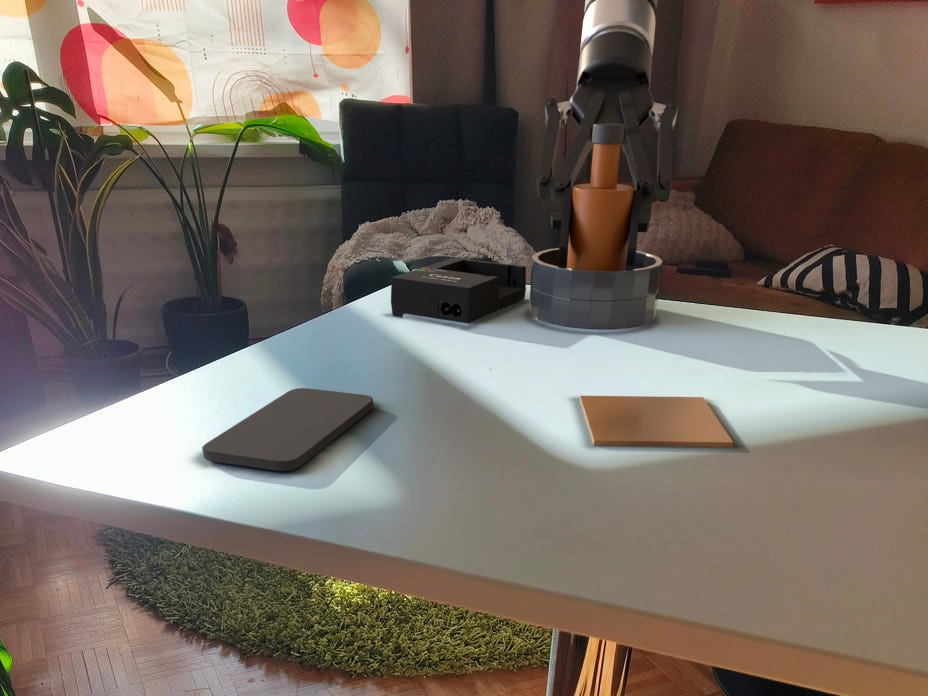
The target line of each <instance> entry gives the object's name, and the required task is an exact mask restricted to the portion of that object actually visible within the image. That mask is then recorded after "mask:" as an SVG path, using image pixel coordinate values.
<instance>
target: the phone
mask: <svg viewBox="0 0 928 696" xmlns="http://www.w3.org/2000/svg"><path fill="white" fill-rule="evenodd" d="M373 409H374V398H373V397H372V396H370V395H366V394H359V393H351V392H344V391H343V392H342V391H334V390H326V389H316V388H307V387H299V388H298V387H297V388H293V389H290V390H288V391H286V392H285V393H283V394H282V395H280V396H279V397H277V398H275V399H274V400H272V401H271V402H269V403H267V404H266V405H264V406H263V407H261V408H260V409H258V410H256V411H255V412H253V413H252V414H250V415H249V416H247V417H245V418H244V419H242V420H241V421H239V422H237V423H236V424H234V425H233V426H231V427H230V428H228V429H227V430H225V431H223V432H222V433H220V434H219V435H217V436H215V437H214V438H212V439H211V440H209V441H208V442H206V443H205V444H204V445H203V446H202V455H203V458H204V459H205V460H207V461H209V462H214V463H220V464H221V463H222V464H228V465H234V466H242V467H248V468H249V467H250V468H255V469H261V470H262V469H263V470H271V471H277V472H278V471H279V472H289V471H293V470H297V469H299V468H300V467H302V466H303V465H304V464H305V463H307V462H308V461H309V460H311V459H312V458H314V456H316V455H317V454H318V453H319V452H321V451H322V450H323V449H324V448H325V447H327V446H328V445H329V444H331V443H332V442H333V441H335V440H336V439H337V438H338V437H339V436H340V435H341V434H343V433H344V432H345V431H348V429H350V428H351V427H352V426H353V425H354V424H356V422H358V421H359V420H361V419H362V418H363V417H365V415H367V414H368V413H369V412H371V410H373Z"/></svg>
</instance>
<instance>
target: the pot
mask: <svg viewBox="0 0 928 696" xmlns="http://www.w3.org/2000/svg"><path fill="white" fill-rule="evenodd" d="M627 250H628V248H627ZM567 258H568V252H567ZM626 262H627V257H626ZM663 262H664V261H663V260H662V259H661V258H660V257H659V256H657V255H654V254H651V253H649V252H646V251H645V252H644V251H641V250H636V254H635V261H634V266H626V267H625V270H618V271H593V270H580V269H571V268H567V261H566V263H559V247H557V248H549V249H545V250H541V251H538V252H536V253H535V254H533V255H532V256H531V269H530V287H529V288H530V290H529V306H528V307H529V309H528V311H529V314H530V316H532V317H533V318H534V319H535V320H538V321H540V322H543V323H545V324H546V323H547V324H549V325H554V326H558V327H564V328H573V329H582V330H620V329H621V330H622V329H630V328H631V329H632V328H636V327H640V326H641V327H642V326H644V325H646V324H650V323H651V322H653V320H654V319H655V317H656V316H657V308H658V301H659V293H660V284H661V279H662V278H661V277H662V271H663Z"/></svg>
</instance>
